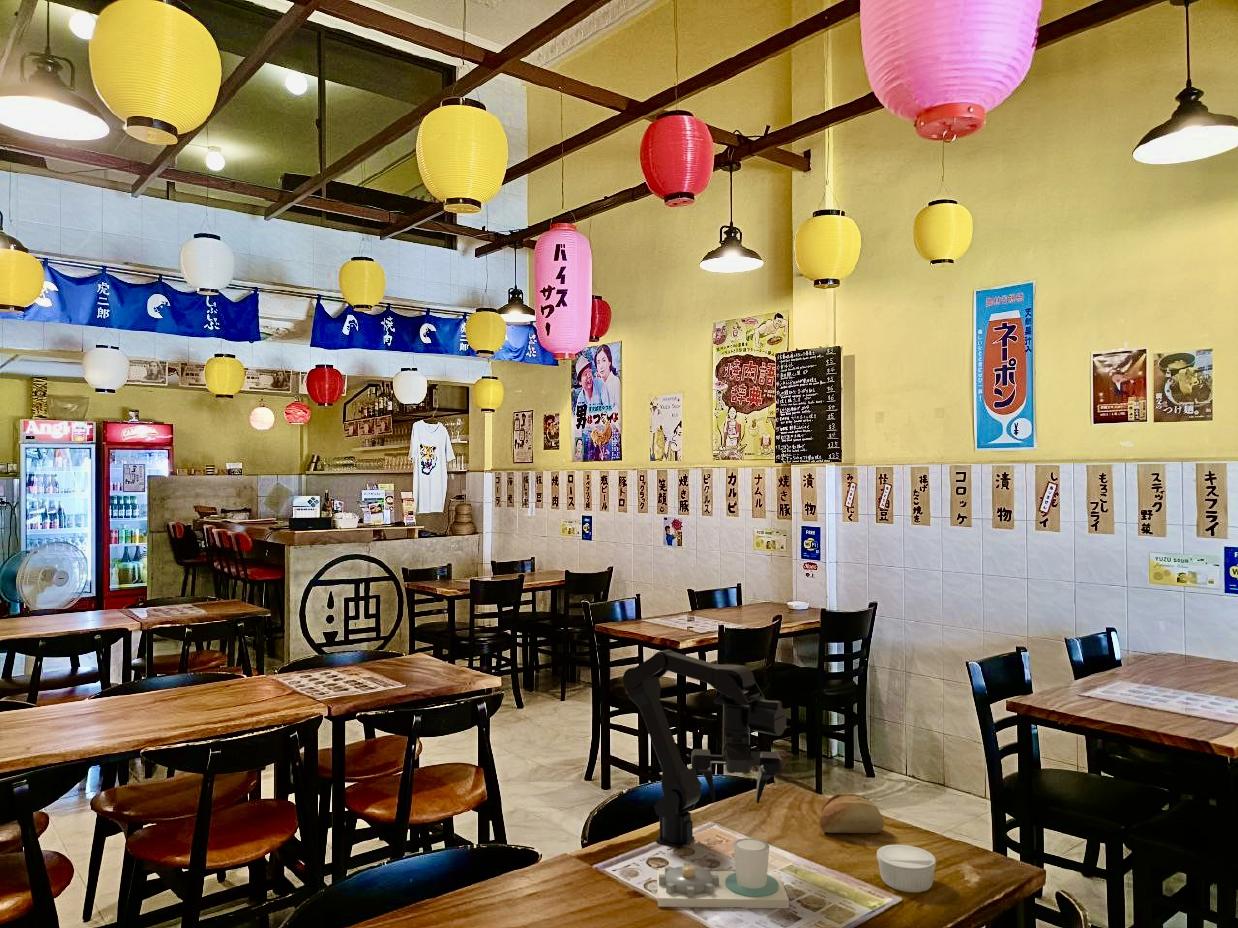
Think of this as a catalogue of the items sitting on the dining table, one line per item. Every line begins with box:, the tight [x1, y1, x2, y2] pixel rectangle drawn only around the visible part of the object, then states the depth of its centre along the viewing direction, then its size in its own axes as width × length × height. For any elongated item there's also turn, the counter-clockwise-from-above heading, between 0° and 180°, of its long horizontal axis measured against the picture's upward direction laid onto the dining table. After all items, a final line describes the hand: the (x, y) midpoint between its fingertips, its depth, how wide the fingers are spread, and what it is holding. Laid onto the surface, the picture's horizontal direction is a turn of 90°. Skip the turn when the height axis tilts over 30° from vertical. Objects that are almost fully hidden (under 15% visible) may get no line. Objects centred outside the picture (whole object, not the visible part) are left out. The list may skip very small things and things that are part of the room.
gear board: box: [656, 863, 790, 909], centre depth 159 cm, size 24×12×4 cm, turn 89°
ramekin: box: [876, 844, 937, 893], centre depth 164 cm, size 11×11×5 cm
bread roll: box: [819, 793, 885, 834], centre depth 190 cm, size 10×15×8 cm, turn 98°
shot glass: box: [732, 837, 770, 889], centre depth 159 cm, size 7×7×7 cm
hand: (735, 801), depth 176 cm, fingers open, 9 cm apart
